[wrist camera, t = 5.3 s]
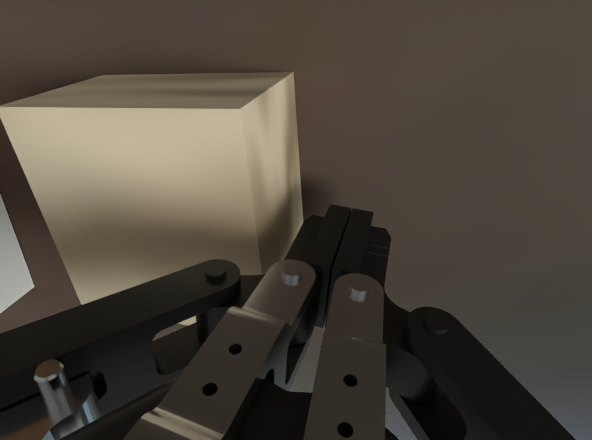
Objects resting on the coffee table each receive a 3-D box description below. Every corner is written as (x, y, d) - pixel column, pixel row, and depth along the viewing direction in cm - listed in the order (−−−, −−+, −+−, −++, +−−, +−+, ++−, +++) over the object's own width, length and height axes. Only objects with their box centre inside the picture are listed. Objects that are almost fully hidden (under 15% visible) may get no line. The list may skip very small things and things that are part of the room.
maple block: (105, 74, 16) (-5, 107, 12) (295, 70, 14) (240, 109, 10) (153, 240, 20) (82, 307, 16) (307, 257, 18) (270, 339, 14)
